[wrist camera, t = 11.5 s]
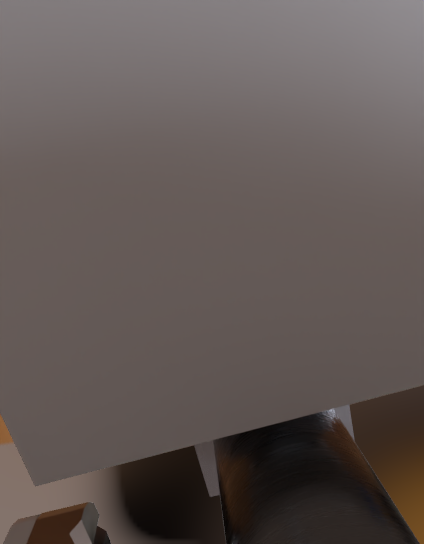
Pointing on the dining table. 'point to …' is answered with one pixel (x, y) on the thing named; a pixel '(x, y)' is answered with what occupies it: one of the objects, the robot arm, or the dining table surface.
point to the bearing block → (204, 219)
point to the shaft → (300, 485)
